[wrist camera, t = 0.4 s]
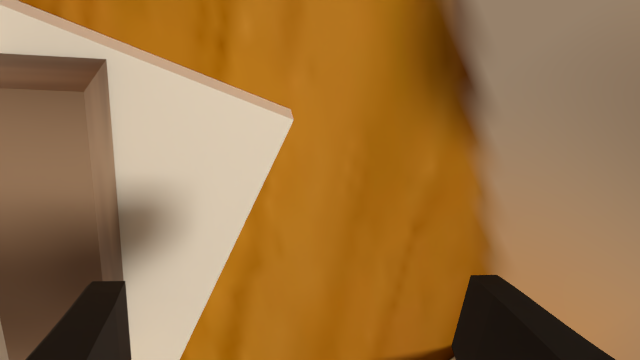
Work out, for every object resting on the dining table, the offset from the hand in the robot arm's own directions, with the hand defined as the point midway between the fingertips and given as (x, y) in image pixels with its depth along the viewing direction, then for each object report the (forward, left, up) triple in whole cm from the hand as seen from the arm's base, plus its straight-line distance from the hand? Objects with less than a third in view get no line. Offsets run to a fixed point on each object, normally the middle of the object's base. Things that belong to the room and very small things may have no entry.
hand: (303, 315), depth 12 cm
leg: (-5, +5, -8) cm, 11 cm away
